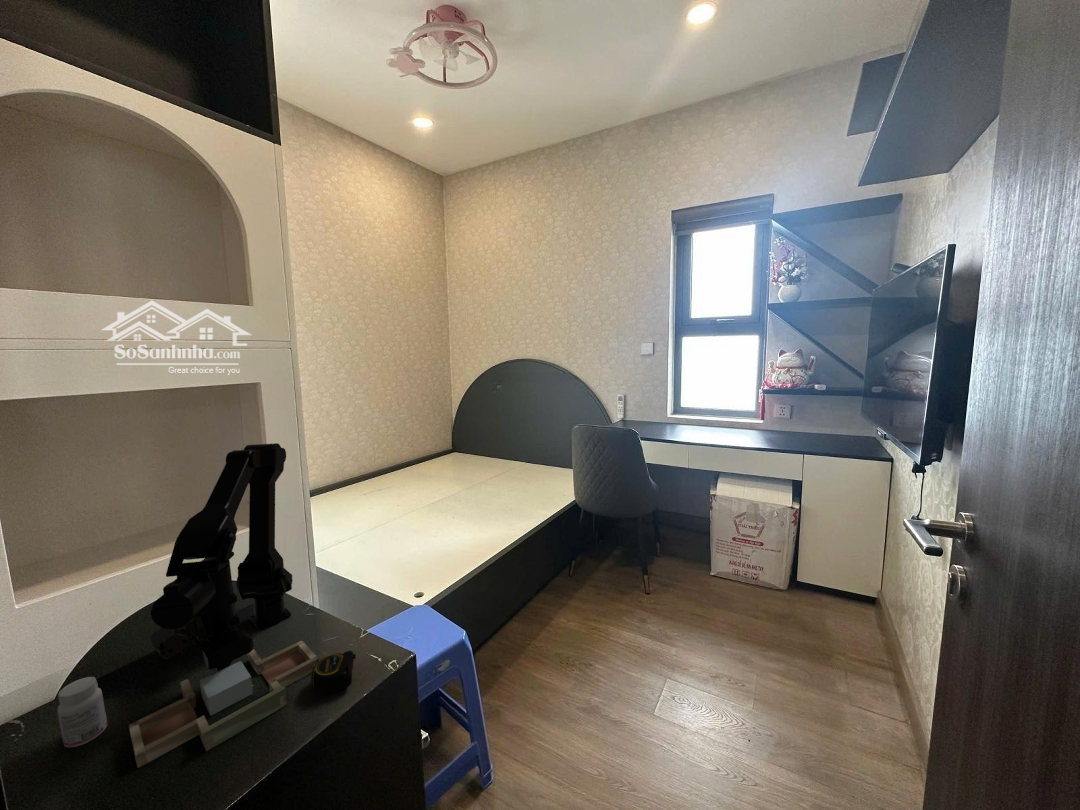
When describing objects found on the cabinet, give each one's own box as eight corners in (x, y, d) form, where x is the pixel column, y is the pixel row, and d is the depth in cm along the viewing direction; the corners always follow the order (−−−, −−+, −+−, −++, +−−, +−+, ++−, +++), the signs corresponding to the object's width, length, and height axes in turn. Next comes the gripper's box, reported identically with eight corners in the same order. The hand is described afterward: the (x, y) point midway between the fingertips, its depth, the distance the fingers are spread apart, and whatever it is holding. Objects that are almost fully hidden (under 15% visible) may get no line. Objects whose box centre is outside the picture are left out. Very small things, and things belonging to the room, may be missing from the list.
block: (202, 698, 73) (199, 680, 73) (242, 678, 78) (240, 660, 77) (210, 717, 69) (208, 698, 69) (253, 694, 74) (251, 676, 73)
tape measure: (352, 692, 74) (350, 672, 73) (308, 702, 72) (306, 682, 71) (356, 665, 80) (355, 647, 80) (316, 674, 78) (314, 655, 78)
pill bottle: (76, 727, 68) (68, 679, 67) (114, 718, 69) (106, 671, 68) (55, 753, 63) (45, 702, 62) (96, 742, 65) (87, 692, 64)
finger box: (126, 719, 69) (124, 702, 69) (293, 639, 88) (291, 625, 87) (142, 788, 58) (139, 769, 57) (329, 679, 76) (328, 664, 76)
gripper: (143, 594, 74) (154, 675, 76) (161, 639, 62) (174, 734, 64) (220, 569, 83) (229, 643, 85) (249, 604, 71) (259, 689, 73)
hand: (222, 674), depth 76 cm, fingers closed
